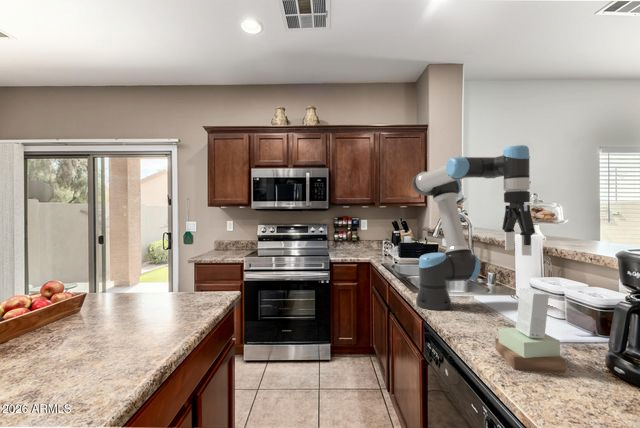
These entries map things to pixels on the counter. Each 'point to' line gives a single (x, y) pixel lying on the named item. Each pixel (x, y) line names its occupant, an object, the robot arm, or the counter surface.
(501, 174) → the robot arm
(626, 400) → the counter surface
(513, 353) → the tower base
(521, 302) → the skincare box
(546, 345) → the tower top
